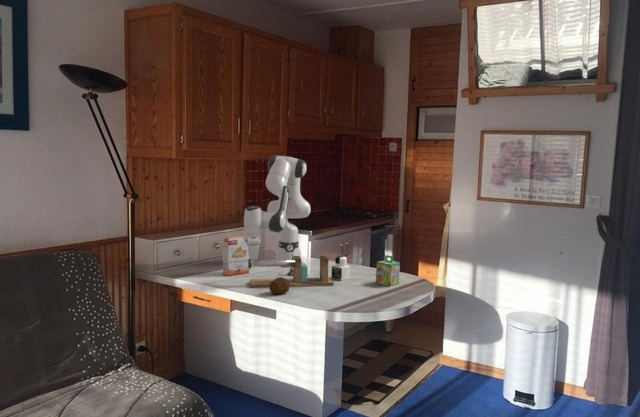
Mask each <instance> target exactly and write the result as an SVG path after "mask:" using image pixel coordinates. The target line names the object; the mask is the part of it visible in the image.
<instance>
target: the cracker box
mask: <svg viewBox="0 0 640 417" xmlns="http://www.w3.org/2000/svg"><path fill="white" fill-rule="evenodd" d="M222 239H223V240H222V242H223V244H222V247H223V248H222V250H223V251H222V275H224V276H227V277H231V276H237V275H238V276H239V275H245V274H249V273H250V269H248V259H250V257H249V254H248V246H247V245H246V242H244V234H243V235H233V236H224V237H222Z"/></svg>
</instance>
